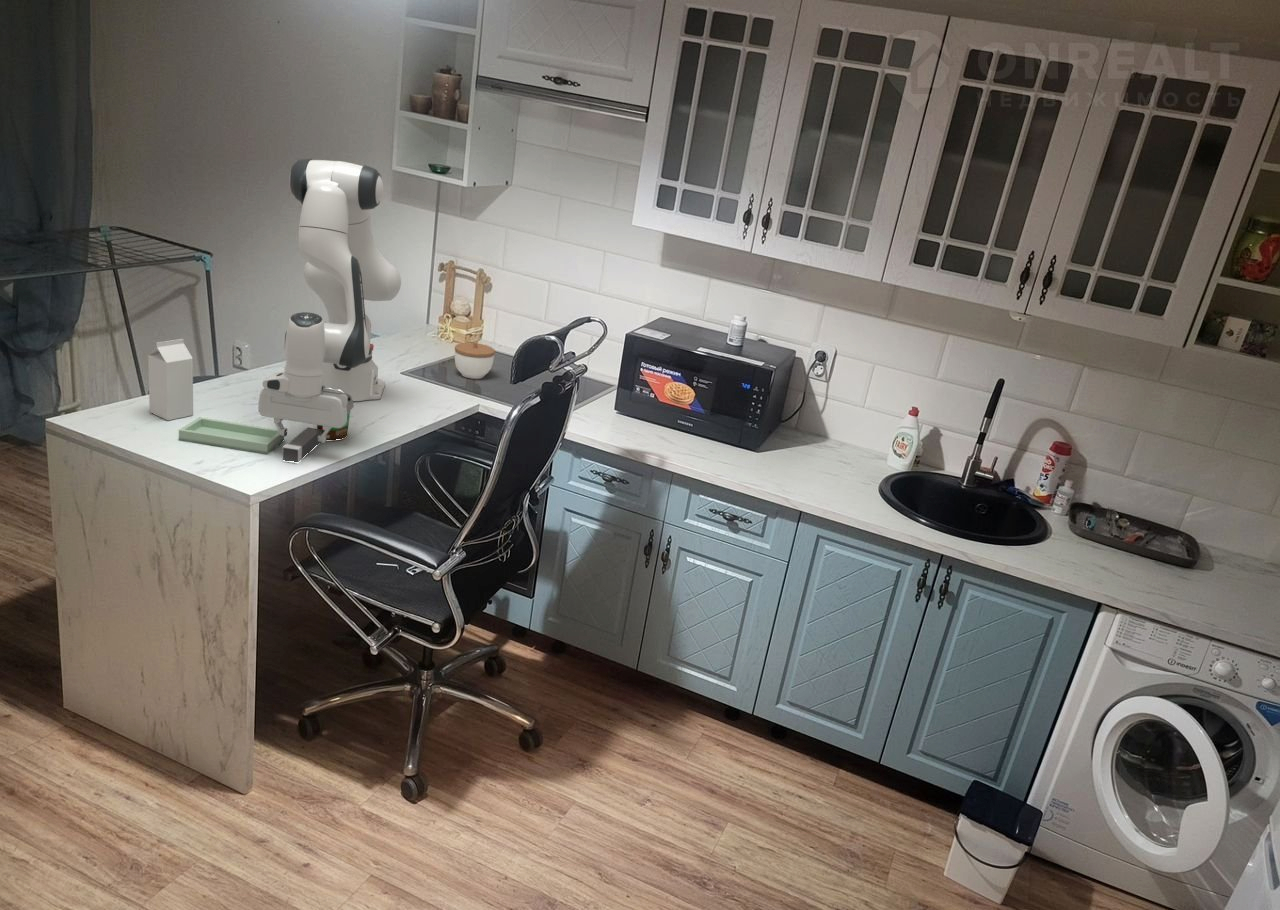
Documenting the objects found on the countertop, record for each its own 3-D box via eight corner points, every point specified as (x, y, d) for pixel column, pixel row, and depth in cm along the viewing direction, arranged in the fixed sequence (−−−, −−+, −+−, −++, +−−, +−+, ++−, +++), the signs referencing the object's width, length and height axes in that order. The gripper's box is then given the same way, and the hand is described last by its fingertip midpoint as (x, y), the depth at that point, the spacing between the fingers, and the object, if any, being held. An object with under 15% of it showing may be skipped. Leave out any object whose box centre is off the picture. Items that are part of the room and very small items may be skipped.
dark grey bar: (306, 440, 236) (307, 426, 234) (321, 442, 236) (322, 428, 234) (282, 461, 222) (282, 446, 220) (298, 464, 222) (298, 449, 220)
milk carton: (193, 415, 239) (192, 342, 233) (167, 421, 233) (166, 346, 227) (175, 407, 242) (174, 335, 236) (149, 413, 236) (147, 339, 230)
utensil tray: (199, 426, 233) (199, 417, 232) (284, 440, 233) (284, 430, 232) (178, 440, 224) (178, 430, 223) (267, 454, 224) (267, 444, 223)
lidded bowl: (445, 371, 306) (447, 337, 303) (478, 368, 315) (481, 336, 311) (466, 383, 298) (469, 349, 294) (499, 379, 307) (503, 346, 303)
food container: (337, 446, 235) (338, 408, 231) (314, 441, 236) (315, 403, 232) (360, 432, 246) (362, 395, 243) (338, 427, 247) (340, 390, 243)
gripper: (352, 387, 225) (349, 441, 230) (267, 373, 225) (266, 428, 230) (343, 394, 219) (340, 450, 224) (255, 379, 219) (254, 436, 224)
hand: (302, 438), depth 227 cm, fingers open, 8 cm apart
